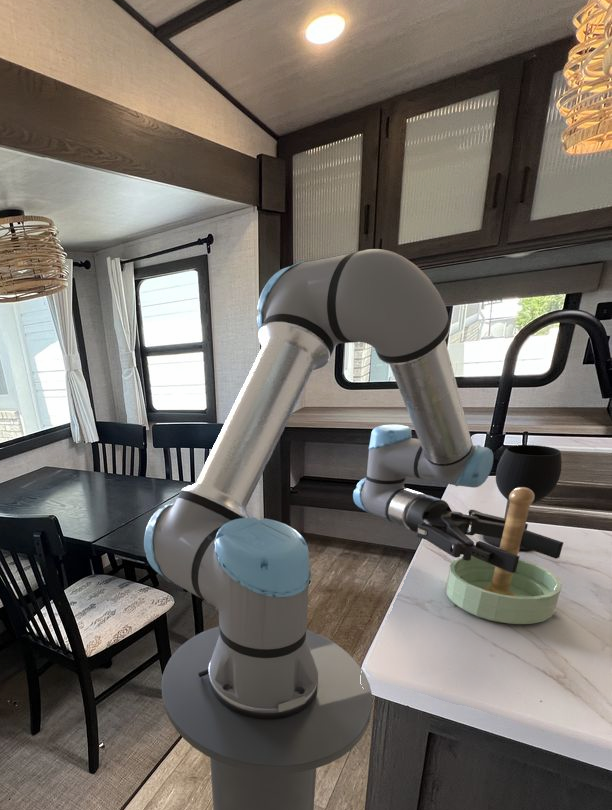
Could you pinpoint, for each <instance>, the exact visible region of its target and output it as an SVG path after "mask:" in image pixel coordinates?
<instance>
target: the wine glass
mask: <svg viewBox="0 0 612 810" xmlns="http://www.w3.org/2000/svg"><path fill="white" fill-rule="evenodd" d="M562 461H563V460H562V453H561V451H560V449H557V448H555V447H550V446H546V445H537V444H536V445H535V444H517V445H511V446H508V447H506V449H505V450H504V451H503V453H502V455H501V456H500V459H499V461H498V463H497V467H496V471H495V485H496V487H497V489H498V492H500V494H501V495H502V496H503V497H504V498H505V499H506V500H507V501H508V502H510V501H509V495H510V493H511V492H512V491H513V490H514V489H516V488H519V487H526V488H529V489H530V490H532V491H533V493H534V501H533V502H532V503H531V504H530V505H533V504H535V503H536V502H539V501H540V500H543V499H544V498H546V497H547V496H548V495H549V494H551V493H552V492H553V491H554V489H555V488H556V487H557V485H558V482H559V480H560V477H561V474H562V466H563V465H562V463H563V462H562ZM482 539H483V540H484V541H485V543H487V544H489V545H491V546H494V547H496V548H500V544H501V538H496V537H490V536H485V535H482ZM528 551H532V550H531V549H528V548H525V547H523V546H520V548H519V552H528Z"/></svg>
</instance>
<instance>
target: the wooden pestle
mask: <svg viewBox="0 0 612 810" xmlns="http://www.w3.org/2000/svg"><path fill="white" fill-rule="evenodd" d="M533 501H534V493H533V491H532V490H530V489H529V488H526V487H519V488H516V489H514V490H513V491H512V492H511V493H510V495H509V501H508V502H509V505H508V509H507V514H506V518H505V519H506V522H505V526H504V531H503V535H502V539H501V544H500V547H498V548H499V549H502V550H504V551H507V552H509V553H512V554H514V555H517V556H519V552H520V551H519V548H520V544H521V540H522V536H523V532H524V528H525V524H527V520H528V515H529V511H530V507H531V505H532V504H533V503H532V502H533ZM531 503H532V504H531ZM512 576H513V573H511V572H508V571H506V570H504V569H501V568H499V567H497V566H495V570H494V574H493V579H492V583H491V586H487V587H485V588H484V590H487V591H490V592H494V593H498V594H503V595H510V596H514V593H513V592H512V591H511V590H509V588H510V584H511V580H512Z"/></svg>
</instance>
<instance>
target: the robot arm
mask: <svg viewBox="0 0 612 810" xmlns="http://www.w3.org/2000/svg"><path fill="white" fill-rule="evenodd" d="M256 309H257V311H259V314H258V315H257V316H256V322H257V327H258V334H257V335H258V337H257V339H258V341H259V344H260V346H261V349H260V351H259V353H258V355H257V357H256V359H255V361H254V363H253V364H252V365H253V366H252V367H251V370H250V371H249V373H248V375H247V377H246V380H245V382H244V384H243V386H242V388H241V389H240V392H239V394H238V395H237V398H236V400H235V402H234V404H233V406H232V408H231V410H230V411H229V412H230V413H229V414H228V416H227V418H226V420H225V421H224V424H223V426H222V428H221V430H220V433H219V434H218V437H217V438H216V441H215V443H214V444H213V447H212V449H211V451H210V453H209V455H208V457H207V459H206V461H205V463H204V465H203V467H202V469H201V471H200V472H199V476H198V477H197V480H196V481H195V483H193V484H192V485H187V486H185V487H182V489H181V490H180V492H179V494H178V495H177V498H176V499H175V501H174V502H173V503H168V504H165V505H164V506H163V507H162V508H158V509H157V510H156V511H155V512H154V513H153V515H151V517H150V518H149V521H148V522H147V525H146V528H145V530H144V535H143V536H144V537H143V550H144V553H145V557H146V559H147V562H148V564H149V565H150V567H151V568H152V569H153V570H154V571H155V572H156V573H157V574H159V575H161V576H162V577H163V578H164V580H166V581H167V582H169V583H172V584H174V585H176V586H179V587H181V589H183V590H185V591H187V592H189V593H191V594H192V595H194V596H196V597H198V598H199V599H202V600H203V601H205V602H207V603H208V604H209V605H212V606H214V607H215V608H216V609H217V611H218V626H219V628H220V635H219V638H218V641H217V644H216V647H215V650H214V652H213V655H212V658H211V661H210V664H209V668H208V669H206V670H203V671H201V672H198V675H199V677H202V676H205V675H207V674H209V683H210V687H211V690H212V692H213V694H214V695H215V697H216V698H217V699H218V700H219V701H220V702H221V703H222V704H223V705H224V706H226V707H227V708H228V709H230V710H232V711H234V712H236V713H238V714H241V715H243V716H247V717H251V718H256V719H267V720H271V719H281V718H286V717H289V716H293V715H295V714H297V713H299V712H301V711H303V710H304V709H305V708H307V707H308V706H309V705H310V704H311V703H312V701H313V700H314V698H315V696H316V693H317V686H318V671H317V668H316V665H315V663H314V660H313V657H312V654H311V651H310V648H309V646H308V643H307V640H306V630H307V627H308V626H307V623H308V607H309V605H308V603H309V588H310V587H309V586H310V581H311V574H312V572H311V565H310V551H309V548H308V543H307V542H306V540H305V538H304V537H303V535H302V534H300V532H298V531H297V530H296V529H294V528H293V527H292V526H289V525H288V524H286V523H283V522H280V521H278V520H274V519H271V518H270V519H269V518H262V519H260V518H257V517H253V516H252V517H251V516H250V517H249V514H248V511H247V506H248V504H249V502H250V501H251V498H252V496H253V494H254V492H255V490H256V488H257V486H258V484H259V482H260V479H261V478H262V475H263V474H264V472H265V469H266V467H267V466H268V463H269V461H270V459H271V457H272V455H273V453H274V451H275V449H276V446H277V445H278V442H279V441H280V438H281V437H282V435H283V432H284V430H285V428H286V426H287V425H288V423H289V421H290V418H291V416H292V414H293V412H294V410H295V408H296V406H297V404H298V402H299V400H300V398H301V396H302V393H303V392H304V389H305V388H306V386H307V384H308V381H309V380H310V377H311V375H312V373H313V371H317V370H319V369H322V368H323V367H325V366H326V365H327V364H328V363H329V361H330V359H331V357H332V355H333V353H334V351H335V349H336V347H337V346H338V345H339V344H350V343H352V344H353V343H365V344H367V345H370V346H371V347H373V348H374V350H375V353H376V355H377V357H378V359H379V360H380V361H381V362H383V363H385V364H388V365H389V367H390V370H391V372H392V375H393V377H394V380H395V382H396V385H397V388H398V390H399V392H400V395H401V397H402V400H403V403H404V405H405V408H406V411H407V414H408V415H409V418H410V421H411V423H412V426H413V429H414V431H415V434H416V437H417V438H413V435H412V429H411V427H410V426H407V425H403V424H381V425H378V426H375V427H374V428H373V429H372V431H371V434H370V439H369V445H368V456H367V457H368V458H367V468H366V470H367V471H366V477H364V478H362V479H360V480H359V482H357V484H356V486H355V489H354V490H353V493H352V499H353V502H354V504H355V505H356V506H357V507H358V508H359V509H361V510H363V511H365V512H366V513H368V514H370V515H373V516H377V517H379V518H381V519H384V520H387V521H388V522H391V523H394V524H396V525H398V526H400V527H403V529H406V530H407V529H408V530H410V531H412V532H414V533H415V534H416V537H417V538H420V539H423V540H426V541H427V542H429V543H430V544H431V545H434V546H435V547H437V548H438V549H440V550H442V551H443V552H445V553H446V554H448V555H450V556H451V557H453V558H455V559H458V558H460V557H461V555H462V557H463V560H466V561H469V560H471V556H473V557H475V558H478V559H480V560H482V561H485V562H487V563H490V564H492V565H494V566H497V567H499V568H501V569H504V570H506V571H508V572H511V573H514V572H516V569H517V565H518V561H519V559H520V555H518V556H517V555H514V554H512V553H509V552H507V551H504V550H502V549H499V548H500V547H496V546H494V545H491V544H489V543H487V542H483V541H482V540H479V541H476V542H475V541H473V540H472V539H471V538H470V537H468V536H471V537H472V536H475V535H480V536H483V535H485V536H490V537H496V538H501V539H502V535H503V531H504V526H505V522H506V518H504V517H501V516H496V515H492V514H488V513H483V512H481V511H478V510H475V509H468V513H467V514H466V513H465V514H464V513H462V512H460V511H452V509H451V507H450V505H449V503H448V502H447V501H445V500H443V499H441V498H438V497H434V496H432V495H428V494H425V493H423V492H420V491H417V490H413V489H410V488H408V487H406V486H405V481H406V477H409V478H414V479H420V480H425V481H430V482H435V483H442V484H446V485H452V486H454V487H465V488H474V489H475V488H479V487H481V486H482V485H483V484H484V483H485V482H486V481H487V479H488V478H489V476H490V474H491V471H492V468H493V464H494V453H493V451H492V449H490V448H489V447H487V446H482V445H478V444H477V445H475V444H473V441H472V438H471V433H470V430H469V427H468V422H467V418H466V415H465V411H464V407H463V403H462V400H461V396H460V391H459V387H458V384H457V380H456V376H455V372H454V369H453V365H452V364H453V363H452V361H451V358H450V357H451V356H450V353H449V350H448V346H447V342H446V339H447V338H448V336H449V333H450V331H451V321H450V317H449V314H448V310H447V306H446V304H445V301H444V300H443V298H442V296H441V294H440V292H439V291H438V289H437V288H436V286H435V285H434V283H433V282H432V281H431V279H430V277H428V276H427V275H426V274H425V273H424V272H423V270H422V269H420V268H419V267H418V266H417V265H416V264H414V263H413V262H412V261H410V260H409V259H407V258H406V257H404V255H400V254H399V253H396V252H394V251H391V250H388V249H387V250H386V249H380V248H371V249H364V250H359V251H356V252H352V253H347V254H341V255H337V256H332V257H325V258H321V259H315V260H303V261H299V262H297V263H294V264H292V265H289V266H287V267H284V268H281V269H280V270H278V271H277V272H275V273H274V274H273V275H272V276H271V277H270V278H269V279H268V281H267V282H266V284H265V285H264V287H263V289H262V291H261V293H260V295H259V299H258V303H257V308H256ZM528 526H529V524H528V523H526V524H525V528H524V532H523V536H522V540H521V544H520V546H523V547H525V548H528V549H531V550H530V551H533V552H536V553H540V554H542V555H545V556H547V557H549V558H553V559H559V558H560V556H561V552H562V550H563V545H564V542H563V541H560V540H558V539H554V538H551V537H548V536H545V535H542V534H539V533H536V532H533V531H531V530H528ZM469 528H470V529H469Z"/></svg>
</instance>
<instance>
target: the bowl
mask: <svg viewBox="0 0 612 810" xmlns="http://www.w3.org/2000/svg"><path fill="white" fill-rule="evenodd" d="M494 570H495V566H494V565H492V564H490V563H487V562H485V561H482V560H480V559H478V558H475V557H473V556H471V560H469V561H466V560H463V556H460V557H457V558H455V559H454V560H452V562H451V563H450V564H449V567H448V574H447V579H446V585H445V593H446V596H447V597H448V598H449V600H450V601H451V602H452V603H453V604H454V605H456V606H457V607H459V608H460V609H462V610H463V611H466V612H467V613H469V614H471V615H473V616H476V617H477V618H481V619H484V620H487V621H491V622H495V623H501V624H509V625H531V624H537V623H543V622H545V621H547V620H549V619H551V618H552V617H553V615H554V613H555V610H556V607H557V604H558V601H559V597H560V594H561V591H562V587H563V585H562V582H561V581H560V579H559V577H558V576H557V575H556V574H554V573H553V572H551V571H550V570H549V569H547V568H545V567H542V566H541V565H539V564H536V563H533V562H530V561H527V560H524V559H521V558H519V561H518V565H517V569H516V572H514V573H513V576H512V580H511V584H510V588H509V590H511V591H512V592H513V593H514V596H510V595H503V594H498V593H494V592H490V591H487V590H484V588H485V587H487V586H491V583H492V579H493V574H494Z"/></svg>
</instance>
